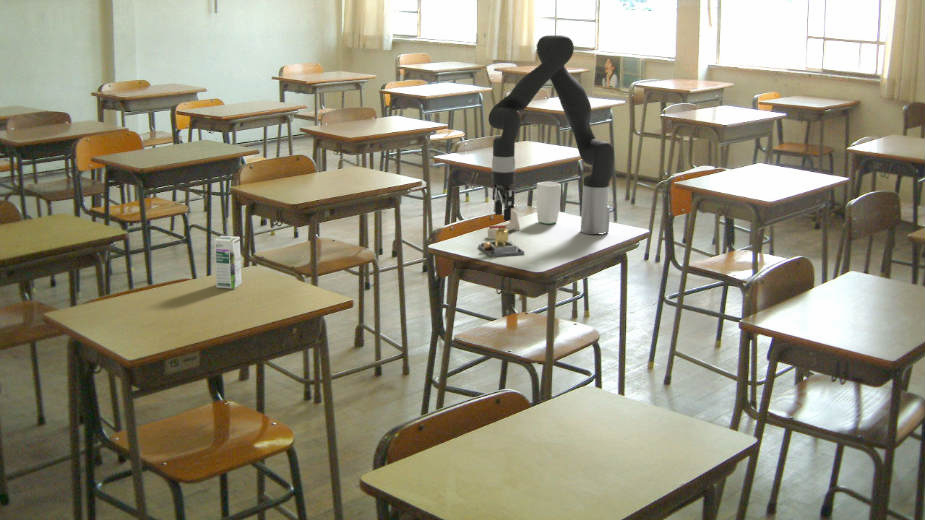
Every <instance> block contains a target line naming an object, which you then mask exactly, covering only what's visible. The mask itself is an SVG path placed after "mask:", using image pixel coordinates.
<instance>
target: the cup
mask: <svg viewBox="0 0 925 520" xmlns="http://www.w3.org/2000/svg"><path fill="white" fill-rule="evenodd" d="M561 191H562V184H561V183H558V182H554V181H548V180H547V181H542V182H537V183H536V214H537V221H538V222H539V223H541V224H543V225H551V224H556V223H557V222H558V218H559V212H560V205H561V193H562V192H561Z"/></svg>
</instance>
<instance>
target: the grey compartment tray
mask: <svg viewBox="0 0 925 520" xmlns="http://www.w3.org/2000/svg"><path fill="white" fill-rule="evenodd" d="M478 247H479V250H480V251H482V252H483V251H484V252H485V254H486V255H487V256H488V257H489V256H490V258H492V257H491V256H496V257H508V256H507V255H511V256H521V255H523V256H524V255H525V251H524V250H523V249H522V248H520V247H519V246H517V245H516V244H515V243H513V242H512V241H510V240H509V239H508V246H499V247H495V240H491V241H490V240H487V241H486V242H482V243H480V244H478ZM478 247H477V248H478ZM484 252H483V253H484Z"/></svg>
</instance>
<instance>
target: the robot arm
mask: <svg viewBox="0 0 925 520" xmlns="http://www.w3.org/2000/svg"><path fill="white" fill-rule="evenodd" d="M574 50H575V47H574V42H573V40H572V39H571V38H570V37H569V36H567V35H557V34H556V35H551V34H550V35H545V36H541V37H540V38H539V39H538V41H537V44H536V52H537V57H538V59H539V61H540V64H539V65H538V66H536V67H535V68H534V69H532V70H531V71H530V72H528V73H526V74H525V75H524V76H523V77H522V78H521V79H520V80H519V81H518V82H517V83H516V84H515V86H514V87H513V88H512V90H511V91H510V93H508V95H507V96H505V97H504V98H502V99H501V100H499V102H497V103H496V104H495V105H494V106H493V107H492V109H491V110H490V111H489V113H488V124H489V125H490V126H491V127H492V128H494V129H497V130H502V133H501V136H497V137H495V138H494V139H493V142H492V159H491V160H492V161H491V183H492V198H491V199H492V201H493V203H494V214H495V215H496V216H498V215H502V213H503V212H504V213H503V220H504V221H506V222H507V221H509V222H510V220H511V209H515V191H514V190H513V189H511V187H510V186H511V185H515V183H516V181H515V180H516V159H515V152H516V151H515V150H516V149H515V147H516V146H515V143H516V140H517V137H518V134H519V129H520V125H521V116H520V113H519V112H520V111H521V112H522V111H523V110H525V109H526V108H527V107H528V106H529V104H530V103H531V102H532V101H533V99H534V98H535V96H536V95H537V94H538V93H539V91H540V90H542V88H543V87H544V85H546V84H547V83H548V82H549V81H551V84H552V85H553V86H552V87H553V88H554V90H555V93H556V94H557V95H556V96H558V100H559V102H560V105H561V107H562V109H563V112H564V114H565V116H566V118H567V121H568V123H569V126H570V129H571V131H572V134H573V136H574V140H575V143H576V146H577V149H578V154H579V156H580V158H581V160H582V162H583V163H585V164H587V165H589V166H592V168H591V169H592V170H591V173H590V174H588V175H585V176H584V177H583V182H582V201H581V202H582V203H581V216H580V218H581V219H580V232H581V234H582V233H583V234H586V235H590V234H599V233H604V232H610V231H609V229H610V213H611V207H610V206H609V194H610V193H609V192H610V181H611V180H612V176H613V171H614V170H613V169H614V162H615V161H614V160H615V151H614V147H613V145H612V144H611V143H610V142H608V141H603V140H600V139H597V138H596V137H595V135H594V132H593V130H592V127H591V124H590V121H591V115H592V105H591V102H590V99H589V97H588V95H587V92H586V90H585V89H584V87H583V86H582V85H581V83H580V82H579V81H578V80H577V79H576V78H575V77H574V76H573V75H572V74H571V73H570V72H569V71H568V69H567V68H566V64H567V63H568V62H569V61H570V60H571V59H572V57H573V54H574Z"/></svg>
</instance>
